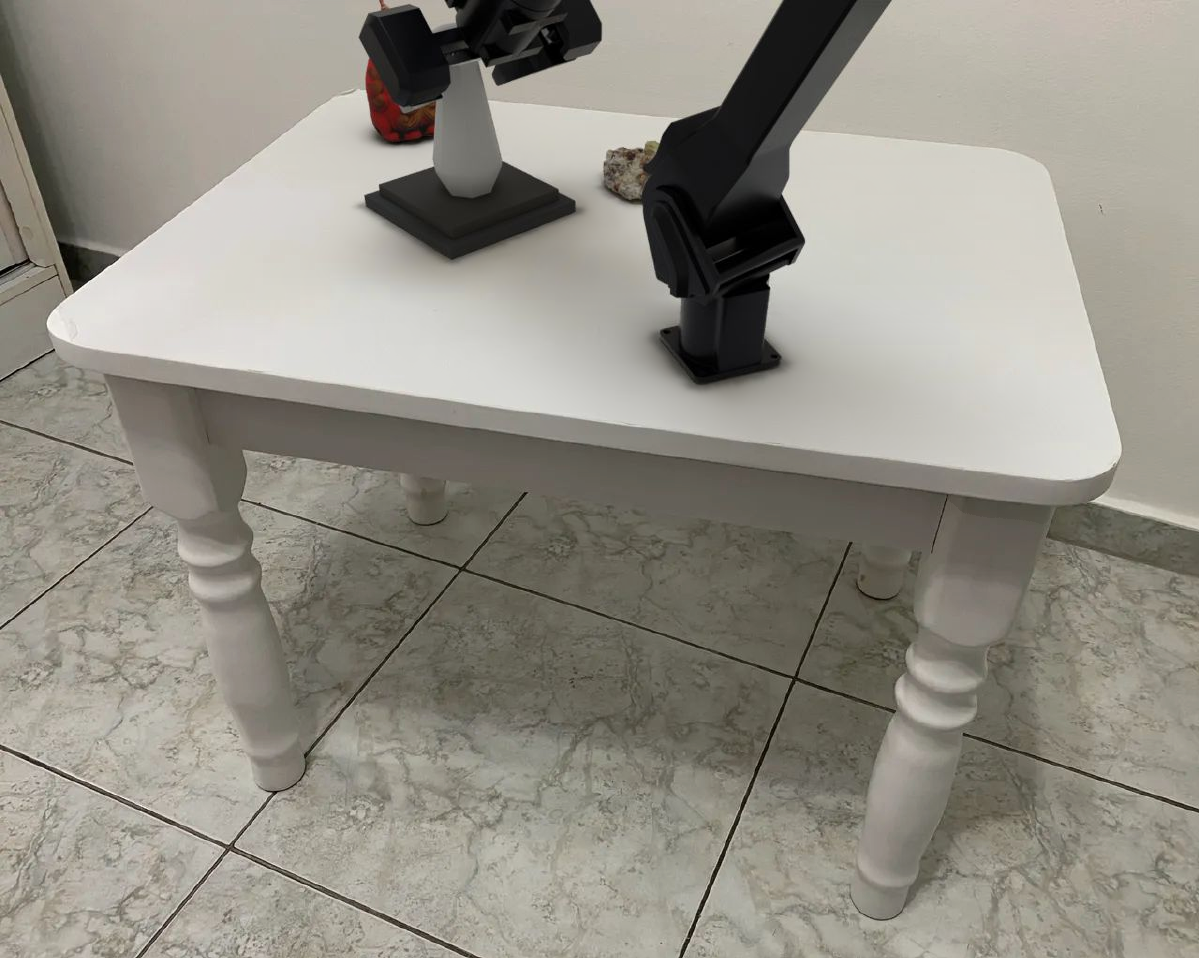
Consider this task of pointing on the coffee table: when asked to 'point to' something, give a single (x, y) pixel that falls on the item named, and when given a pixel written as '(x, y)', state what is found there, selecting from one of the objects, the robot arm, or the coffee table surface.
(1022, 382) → the coffee table surface
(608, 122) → the coffee table surface
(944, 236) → the coffee table surface
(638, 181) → the mineral rock
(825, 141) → the coffee table surface
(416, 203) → the pad stack
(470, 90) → the salt shaker
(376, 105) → the red clay folk toy
